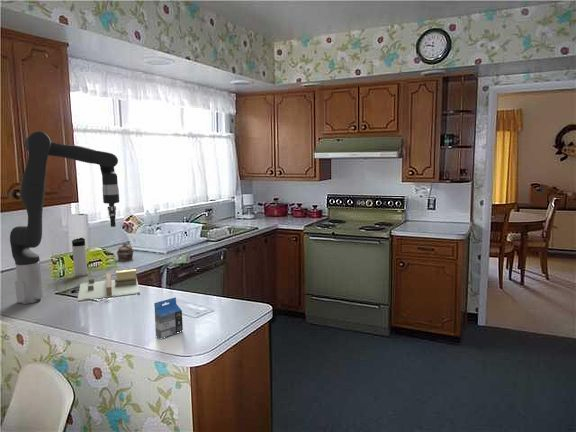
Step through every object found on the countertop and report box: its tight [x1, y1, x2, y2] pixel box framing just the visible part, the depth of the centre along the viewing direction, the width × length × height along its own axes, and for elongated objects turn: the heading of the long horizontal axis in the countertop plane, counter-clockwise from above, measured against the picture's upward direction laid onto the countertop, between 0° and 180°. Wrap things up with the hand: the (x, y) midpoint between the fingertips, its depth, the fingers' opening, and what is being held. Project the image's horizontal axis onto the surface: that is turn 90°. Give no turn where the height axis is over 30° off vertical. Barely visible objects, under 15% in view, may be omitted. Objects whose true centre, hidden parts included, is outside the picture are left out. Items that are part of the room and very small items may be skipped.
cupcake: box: [116, 242, 135, 262], centre depth 267 cm, size 10×10×10 cm
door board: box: [77, 272, 141, 303], centre depth 209 cm, size 26×26×5 cm
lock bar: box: [115, 268, 138, 283], centre depth 216 cm, size 9×4×6 cm, turn 112°
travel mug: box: [71, 237, 89, 278], centre depth 231 cm, size 6×7×20 cm
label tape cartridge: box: [154, 297, 184, 339], centre depth 156 cm, size 9×4×12 cm, turn 136°
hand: (113, 225), depth 222 cm, fingers open, 8 cm apart
